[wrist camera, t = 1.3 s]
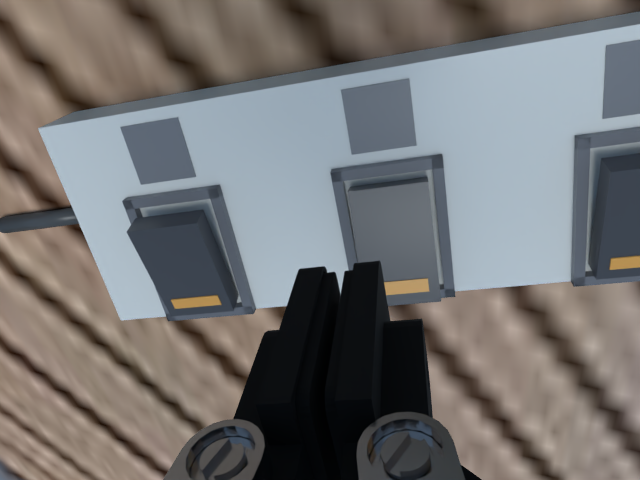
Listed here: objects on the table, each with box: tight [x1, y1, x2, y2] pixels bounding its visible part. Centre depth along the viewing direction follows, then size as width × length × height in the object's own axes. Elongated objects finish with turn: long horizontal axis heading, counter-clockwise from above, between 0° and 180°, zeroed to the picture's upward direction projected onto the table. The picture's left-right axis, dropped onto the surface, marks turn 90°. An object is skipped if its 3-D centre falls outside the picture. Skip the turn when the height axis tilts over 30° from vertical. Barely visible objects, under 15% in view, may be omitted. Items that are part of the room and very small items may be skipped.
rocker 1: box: [127, 210, 238, 316], centre depth 33 cm, size 7×4×2 cm, turn 11°
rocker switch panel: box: [0, 11, 640, 321], centre depth 33 cm, size 14×49×5 cm, turn 101°
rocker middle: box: [348, 177, 441, 306], centre depth 30 cm, size 7×4×2 cm, turn 10°
